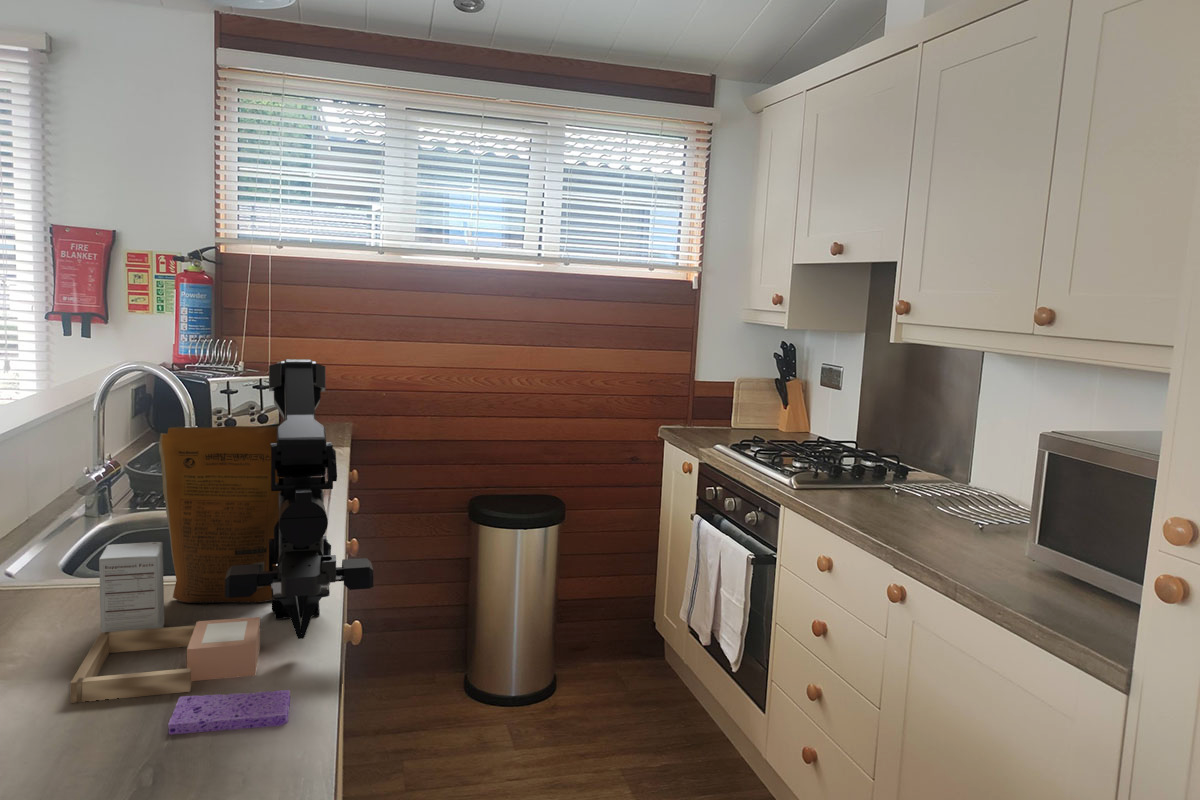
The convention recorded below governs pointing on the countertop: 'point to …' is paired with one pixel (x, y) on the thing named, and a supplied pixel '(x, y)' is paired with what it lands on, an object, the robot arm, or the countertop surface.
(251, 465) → the pancake mix bag
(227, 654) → the carton
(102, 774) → the countertop surface
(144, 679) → the u-shaped wooden frame
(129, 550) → the supplement box
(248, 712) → the sponges
